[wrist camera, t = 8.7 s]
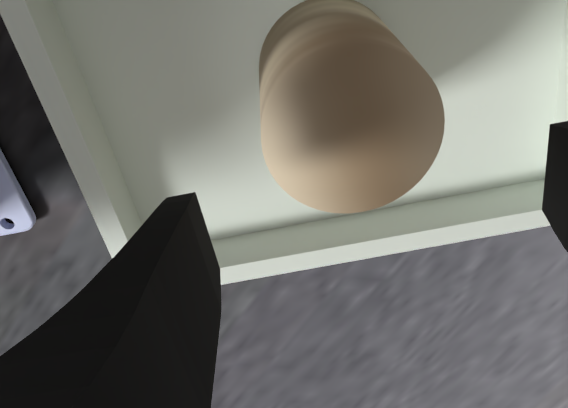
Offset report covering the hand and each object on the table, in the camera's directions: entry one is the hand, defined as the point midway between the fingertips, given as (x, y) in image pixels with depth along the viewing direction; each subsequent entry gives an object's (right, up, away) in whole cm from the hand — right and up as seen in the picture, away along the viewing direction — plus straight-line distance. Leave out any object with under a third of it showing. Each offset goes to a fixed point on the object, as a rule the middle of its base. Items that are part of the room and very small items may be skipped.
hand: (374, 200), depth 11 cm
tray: (-1, +5, +8) cm, 9 cm away
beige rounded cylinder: (0, +5, +7) cm, 8 cm away
